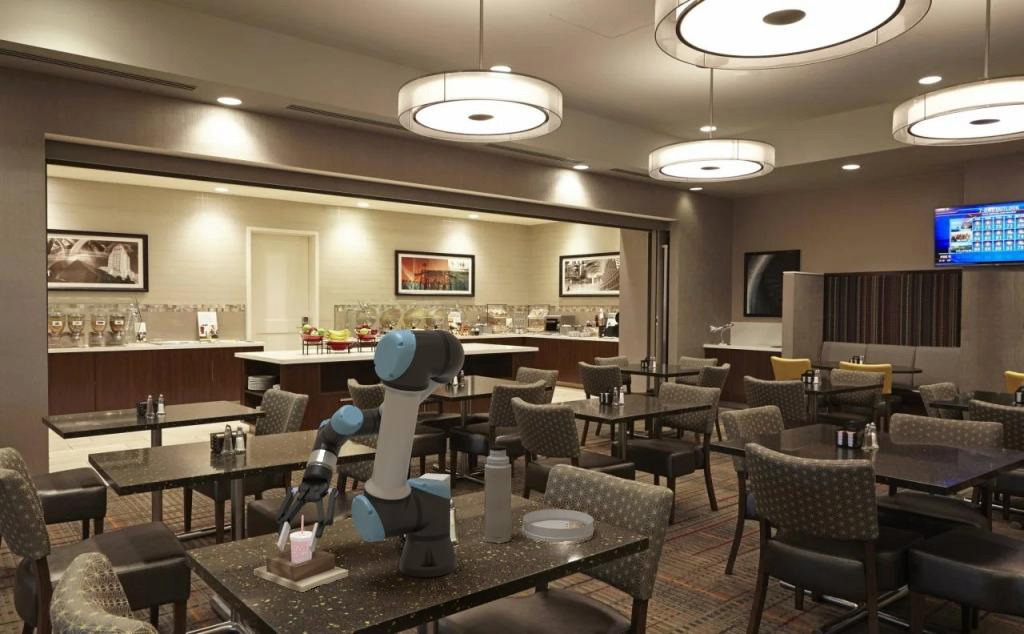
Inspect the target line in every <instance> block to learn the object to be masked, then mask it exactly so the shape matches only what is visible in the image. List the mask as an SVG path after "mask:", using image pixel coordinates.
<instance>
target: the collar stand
mask: <svg viewBox="0 0 1024 634" xmlns="http://www.w3.org/2000/svg"><path fill="white" fill-rule="evenodd" d="M335 560H336V554H334V553H330V552H328V551H323V550H321V549H318V548H315V550H314V552H312V558H311V559H310V560H307V561H304V562H301V563H298V564H297V563H294V562H292V557H291V550H287V551H284V552H282V553H281V552H280V553H277V554H275V555H270V556H267V557H266V564H265V565H263V566H260V567H257V568H254V569H253V575H254V576H255V577H259V578H260V579H263V580H266V581H269V582H272V583H274V584H277V585H278V586H279V585H280V586H282V587H285V588H288V589H290V590H293V591H296V592H298V591H299V592H298V593H301V592H304V593H306V592H305V591H307V590H308V589H311V588H314V587H316V586H319V585H322V584H326V585H328V584H331V583H333V582H336V580H337V581H339V580H341V579H344V578H348V577H349V570H348V569H344V568H342V567H338V566H336V561H335ZM307 592H308V591H307Z"/></svg>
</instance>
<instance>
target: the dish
mask: <svg viewBox="0 0 1024 634" xmlns="http://www.w3.org/2000/svg"><path fill="white" fill-rule="evenodd" d="M569 521H575V522H580V523H584V524H586V526H582V527H578V528H569V527H570V526H569ZM567 523H568V525H565V524H567ZM566 526H568V527H566ZM566 528H567V529H566ZM521 529H522V530H521V533H522V532H523V534H524V535H526V536H527V537H529V538H531V539H535V540H539V541H546V542H564V541H575V540H579V539H584V538H586V537H589V536H591V535H592V534H593V532H594V533H595V527H594V518H593V516H591V515H590V514H589V513H586V512H582V511H577V510H574V509H572V510H570V509H560V508H552V509H551V508H550V509H539V510H535V511H530V512H528V513H526V514H524V515H523V517H522V526H521ZM523 534H522V535H523Z"/></svg>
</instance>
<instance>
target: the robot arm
mask: <svg viewBox="0 0 1024 634" xmlns="http://www.w3.org/2000/svg"><path fill="white" fill-rule="evenodd" d="M464 362H465V350H464V347H463V344H462V343H461V341H460V340H459V338H458V337H457V336H456V335H455V334H453V333H451V332H449V331H447V330H442V329H423V330H421V329H405V328H404V329H400V330H391V331H388V332H386V333H385V334H384V335H383V336H382V337H381V338H380V340H379V341H378V343H377V345H376V348H375V350H374V357H373V364H374V365H375V366H374V371H375V373H376V375H377V376H378V377H379V379H380V384H381V385H382V386H383V388H384V389H385V391H384V392H385V393H384V397H383V402H382V403H381V404H380V405H379V406H378V407H375V408H367V409H366V408H365V409H360V408H358V407H357V406H354V405H351V404H346V405H343V406H342V407H340V408H339V409H338V410H336V412H335V413H333V414H332V416H331V418H328V419H325V420H323V421H322V422H321V423H320V425H319V427H318V429H317V431H316V437H315V439H314V443H313V445H312V449H311V452H310V454H309V458H308V460H307V463H306V467H305V470H304V473H303V475H302V480H301V482H300V484H299V485H298V486H296V487H293V486H288V487H287V491H286V495H285V497H284V500H283V501H282V503H281V504H280V507H279V510H278V512H277V513H276V515H275V520H276V522H277V524H279V529H278V531H277V535H278V536H279V539H278V541H277V545H276V547H277V548H278V549H279V551H281V552H283V551H284V550H285V546H286V543H287V540H288V537H289V535H290V534H289V533H290V530H291V525H290V523H291V522H292V521H293V519H294V518H295V517H296V516H297V515H298V513H299V512H300V510H301V509H302V508H303V507H304V506H305V505H306V504H308V503H314V504H315V505H316V513H317V518H318V520H317V521H318V522H315V523H314V525H313V528H312V531H311V532H312V535H311V539H310V542H309V545H308V547H309V549H310V551H311V552H314V550H315V549H316V546H317V543H318V539H321V538H322V537H323V534H324V531H325V527H327V526H330V527H332V526H333V525H334V519H335V509H336V502H337V499H338V498H339V497H338V496H339V495H340V493H339V491H338V489H337V487H333V488H330V485H331V483H332V481H333V480H332V479H333V475H334V472H335V468H336V467H337V462H338V458H339V455H340V452H341V449H342V447H343V446H344V445H345V444H346V443H347V442H348V441H349V440H350V439H353V438H354V439H356V438H362V437H369V436H370V437H371V436H377V444H376V449H375V457H374V463H373V469H372V476H371V478H369V479H367V480H366V482H365V483H364V487H363V492H362V494H358V495H357V496H355V497H354V498H353V499H352V501H351V507H350V509H351V519H352V523H353V526H354V528H355V531H356V532H357V534H358V535H359V537H361V538H362V539H363V541H365V542H368V543H371V542H372V543H374V542H382V541H384V540H388V539H391V538H396V537H399V536H400V537H401V536H403V535H405V542H404V545H403V548H402V552H401V553H402V554H401V556H400V558H399V571H400V572H401V573H402V574H404V575H406V576H410V577H416V578H417V577H418V578H434V577H441V576H444V575H447V574H451V573H452V572H454V571H455V570H456V569H457V567H458V558H457V555H456V553H455V550H454V546H453V542H452V537H451V501H452V497H451V486H450V487H449V485H448V484H447V483H446V482H444V481H440V480H435V479H425V478H420V477H416V478H409V479H408V474H409V468H410V464H411V463H410V462H411V456H412V450H413V446H414V437H415V433H416V428H417V421H418V415H419V408H420V405H421V404H422V403H423V402H424V401H425V400H426V399H427V398H429V396H431V395H432V394H433V392H434V391H436V390H437V389H438V388H439V387H440V386H441V385H446V384H448V383H450V382H451V381H452V380H453V379H455V377H457V376H458V374H459V373H460V371H461V370H462V368H463V366H464ZM298 493H299V495H297V494H298ZM327 495H328V502H327V509H326V516H325V511H324V501H323V499H324V498H325V497H326V496H327ZM295 498H296V500H295ZM294 500H295V501H294ZM293 501H294V503H293Z"/></svg>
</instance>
